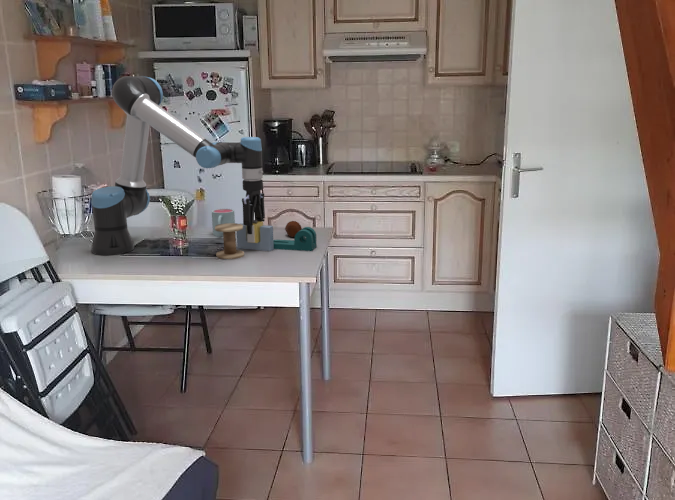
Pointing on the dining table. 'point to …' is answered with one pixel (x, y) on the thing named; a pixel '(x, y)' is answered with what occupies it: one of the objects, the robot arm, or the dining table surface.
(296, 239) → the bracket
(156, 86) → the robot arm
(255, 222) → the yellow block
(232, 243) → the bobbin
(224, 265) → the dining table surface
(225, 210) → the mug
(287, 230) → the potato
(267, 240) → the notch board
